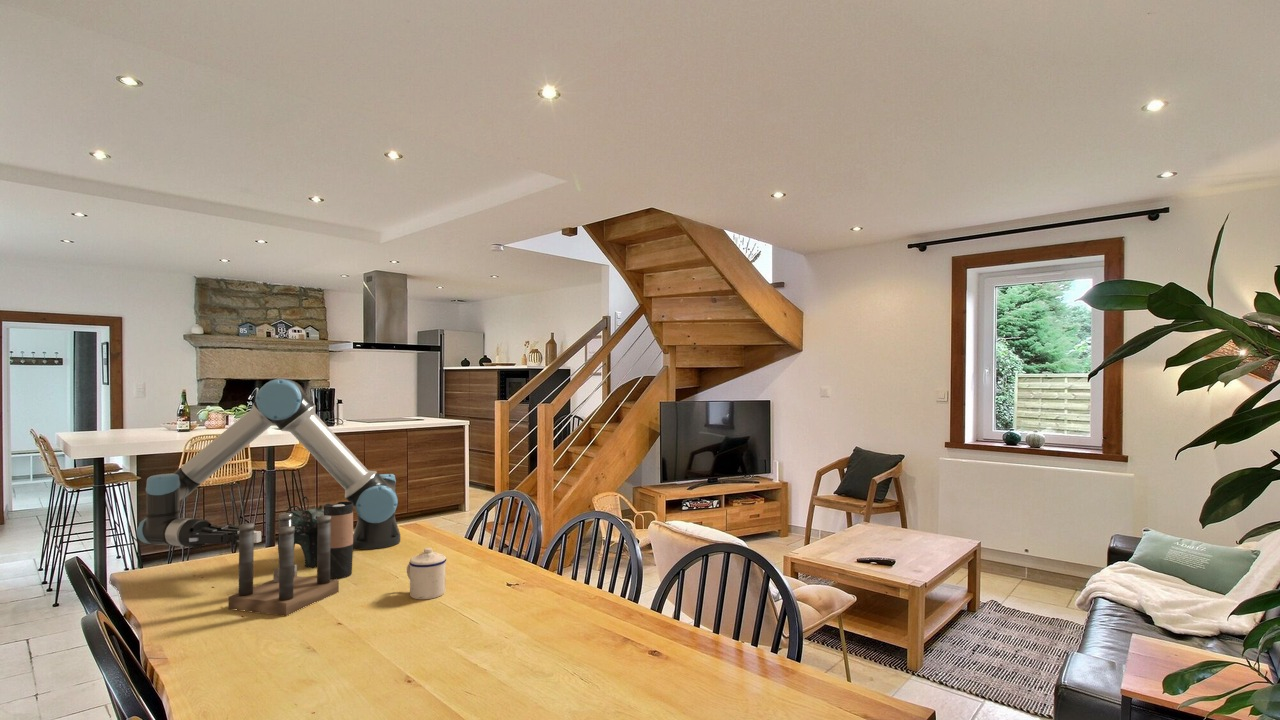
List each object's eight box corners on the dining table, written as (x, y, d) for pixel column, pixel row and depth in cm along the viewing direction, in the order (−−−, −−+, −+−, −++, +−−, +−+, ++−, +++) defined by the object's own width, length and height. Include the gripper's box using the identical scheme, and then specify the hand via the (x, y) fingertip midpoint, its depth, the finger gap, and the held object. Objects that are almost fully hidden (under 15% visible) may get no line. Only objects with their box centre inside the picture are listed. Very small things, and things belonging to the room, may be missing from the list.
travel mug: (344, 580, 174) (345, 506, 174) (317, 579, 174) (317, 506, 174) (357, 571, 181) (358, 501, 182) (331, 571, 181) (332, 501, 182)
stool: (338, 591, 164) (339, 515, 165) (286, 616, 148) (287, 530, 148) (285, 586, 169) (286, 511, 169) (228, 609, 152) (229, 526, 153)
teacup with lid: (453, 591, 164) (454, 546, 164) (426, 602, 156) (426, 555, 156) (421, 584, 170) (421, 540, 170) (393, 594, 162) (393, 548, 162)
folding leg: (295, 570, 167) (295, 513, 167) (285, 574, 164) (286, 515, 164) (285, 569, 168) (285, 512, 168) (275, 573, 164) (276, 515, 165)
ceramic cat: (329, 565, 187) (329, 497, 187) (307, 571, 182) (308, 501, 182) (291, 555, 198) (292, 491, 198) (270, 560, 192) (271, 494, 193)
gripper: (211, 540, 181) (278, 544, 175) (167, 552, 169) (237, 558, 163) (211, 513, 182) (278, 517, 175) (167, 524, 169) (237, 528, 163)
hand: (258, 537), depth 169 cm, fingers closed
